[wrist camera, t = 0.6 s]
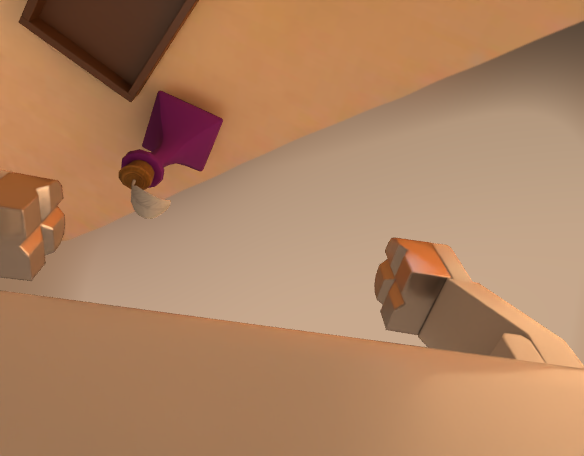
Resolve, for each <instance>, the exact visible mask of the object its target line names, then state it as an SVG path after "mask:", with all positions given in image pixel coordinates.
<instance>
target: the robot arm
mask: <svg viewBox="0 0 584 456" xmlns="http://www.w3.org/2000/svg"><path fill="white" fill-rule="evenodd" d="M62 199H63V190H62V185H61V183H60V182H59V181H58V180H53V179H47V178H42V177H37V176H31V175H26V174H21V173H15V172H11V171H6V170H0V277H1V278H11V279H18V280H27V281H32V279H33V278H34V277H35V276H36V275H37V273H38V272H39V271H40V270H41V268H42V267H43V266H44V264H45V263H46V262H45V255H48V254H50V253H53V252H55V250H56V249H57V248H58V246H59V245H60V243H61V240H62V238H63V235H64V229H65V215H64V213H63V212H62V211H61V210H60V208H59V207H58V206H57V205H58V204H59V203H60V202H61V200H62ZM385 253H386V255H387V258H388V259H387V260H386V261H384V262H383V263H381V264H380V265H379V268H378V270H377V273H376V278H375V295H376V298H377V300H378V301H379V302H380V303H382V304H383V306H382V309H381V315H382V318H383V321H384V324H385V328H386V330H390V331H396V332H402V333H408V334H414V335H419V336H418V337H419V338H420V339H421V340H422V342H423V343H424V344H426V346H427V347H428V348H427V347H420V346H412V345H405V344H397V343H390V342H382V341H375V340H366V339H360V338H352V337H345V336H337V335H330V334H322V333H315V332H307V331H300V330H292V329H285V328H277V327H270V326H262V325H255V324H248V323H240V322H232V321H225V320H217V319H210V318H203V317H195V316H188V315H180V314H172V313H165V312H158V311H150V310H142V309H135V308H127V307H120V306H113V305H106V304H97V303H91V302H83V301H76V300H68V299H61V298H53V297H45V296H38V295H31V294H23V293H15V292H8V291H1V290H0V456H584V365H583V364H582V363H581V361H580V360H579V359H578V358H577V356H576V355H575V354H574V352H573V351H572V350H571V348H570V347H569V346H568V344H567V343H566V342H565V341H564V340H563V339H561V338H560V337H558V336H557V335H555V334H554V333H552V332H551V331H549V330H548V329H546V328H545V327H544V326H542V325H540V324H539V323H537V322H536V321H534V320H533V319H531V318H530V317H529V316H527V315H525V314H524V313H523V312H521V311H520V310H518V309H517V308H515V307H514V306H512V305H511V304H509V303H508V302H506V301H504V300H503V299H502V298H500V297H499V296H497V295H496V294H494V293H493V292H491V291H490V290H488V289H487V288H485V287H484V286H482V285H481V284H479V283H475V282H472V280H471V279H470V277H469V275H468V274H467V272H466V271H465V269H464V267H463V266H462V264H461V263H460V261H459V259H458V258H457V256H456V255H455V253H454V251H453V250H452V249H451V247H449V246H448V245H443V244H434V243H429V242H422V241H415V240H408V239H401V238H391V240H390V241H389V242H388V245H387V247H386V250H385Z"/></svg>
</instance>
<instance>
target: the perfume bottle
mask: <svg viewBox="0 0 584 456" xmlns="http://www.w3.org/2000/svg"><path fill="white" fill-rule="evenodd" d="M222 122H223V119H222V118H220V117H218V116H215V115H213V114H211V113H209V112H207V111H204V110H202V109H200V108H198V107H196V106H193V105H191V104H189V103H187V102H185V101H182V100H180V99H178V98H176V97H174V96H172V95H169V94H167V93H165V92H163V91H159V92H158V93H157V97H156V100H155V104H154V107H153V110H152V114H151V117H150V120H149V124H148V127H147V130H146V134H145V137H144V140H143V144H142V146H143V148H145V149H147V150H149V151H151V153H150V152H147V151H144V150H135V151H130V152H128V153H127V154H126V156H125V157H124V158H123V159H122V167H121V170H120V171H119V179H120V180H121V182H122V183H123V185H125V186H127V187H128V188H130V189H132V190H131V203H132V205H133V208H134V210H135V211H136V212H137V214H138V215H139V216H141V217H143V218H145V219H152V218H155V217H157V216H159V215H160V214H162V213H163V212H165V211H166V210H167V209H168V207H169V206H170V202H171V201H170V200H163V199H160V198H157V197H155V196H153V195H151V194H149V193H148V192H146V191H144V190H145V189H147V188H150V187H155V186H156V185H158V184H159V183H160V182H161V181H162V180H163V175H164V168H163V167H166V166H168V165H171V164H175V163H177V164H181V165H185V166H187V167H190V168H193V169H195V170H198V171H202V170H203V169H204V166H205V164H206V161H207V159H208V156H209V154H210V152H211V149H212V147H213V144H214V142H215V139H216V137H217V135H218V132H219V130H220V127H221V125H222Z"/></svg>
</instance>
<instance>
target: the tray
mask: <svg viewBox="0 0 584 456" xmlns="http://www.w3.org/2000/svg"><path fill="white" fill-rule="evenodd" d="M198 1H199V0H28V1H27V4H26V6H25V8H24V11H23V13H22V16H21V18H20V20H19V23H20V24H22V25H23V26H24V27H26V28H27V29H29V30H30V31H31V32H33V33H34V34H36V35H37V36H38V37H40V38H41V39H43V40H44V41H45V42H47V43H48V44H50V45H51V46H52V47H54V48H55V49H57V50H58V51H59V52H61V53H62V54H64V55H65V56H66V57H68V58H69V59H71V60H72V61H73V62H75V63H76V64H78V65H79V66H80V67H82V68H83V69H85V70H86V71H87V72H89V73H90V74H92V75H93V76H94V77H96V78H97V79H99V80H100V81H101V82H103V83H104V84H106V85H107V86H108V87H110V88H111V89H113V90H114V91H115V92H117V93H118V94H120V95H121V96H122V97H124V98H125V99H127V100H128V101H129V102H132V101H133V100H134V99H135V97H136V96H137V95H138V94H139V92H140V91H141V89H142V88H143V86H144V85H145V83H146V81H147V80H148V78H149V77H150V75H151V74H152V72H153V71H154V69H155V67H156V66H157V64H158V63H159V61H160V60H161V58H162V57H163V55H164V54H165V52H166V50H167V49H168V47H169V46H170V44H171V43H172V41H173V40H174V38H175V36H176V35H177V33H178V32H179V30H180V29H181V27H182V26H183V24H184V22H185V21H186V19H187V18H188V16H189V15H190V13H191V12H192V10H193V9H194V7H195V5H196V4H197V2H198Z"/></svg>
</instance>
